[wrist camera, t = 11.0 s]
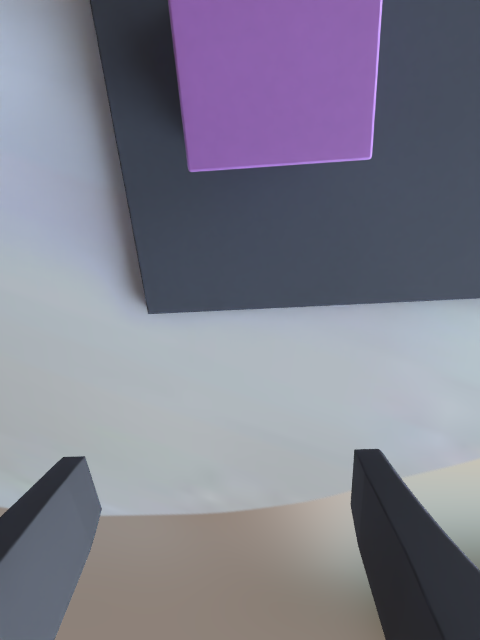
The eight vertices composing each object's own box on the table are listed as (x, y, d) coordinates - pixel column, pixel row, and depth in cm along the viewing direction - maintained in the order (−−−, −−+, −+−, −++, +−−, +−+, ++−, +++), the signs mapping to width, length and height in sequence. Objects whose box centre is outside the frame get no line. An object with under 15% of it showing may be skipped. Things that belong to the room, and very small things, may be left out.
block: (207, 157, 16) (187, 172, 11) (192, -4, 13) (159, -66, 9) (338, 148, 15) (372, 159, 11) (344, -19, 13) (389, -91, 9)
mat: (150, 309, 19) (148, 314, 19) (78, -85, 13) (72, -92, 13) (595, 288, 18) (604, 293, 17) (748, -161, 12) (767, -172, 11)
